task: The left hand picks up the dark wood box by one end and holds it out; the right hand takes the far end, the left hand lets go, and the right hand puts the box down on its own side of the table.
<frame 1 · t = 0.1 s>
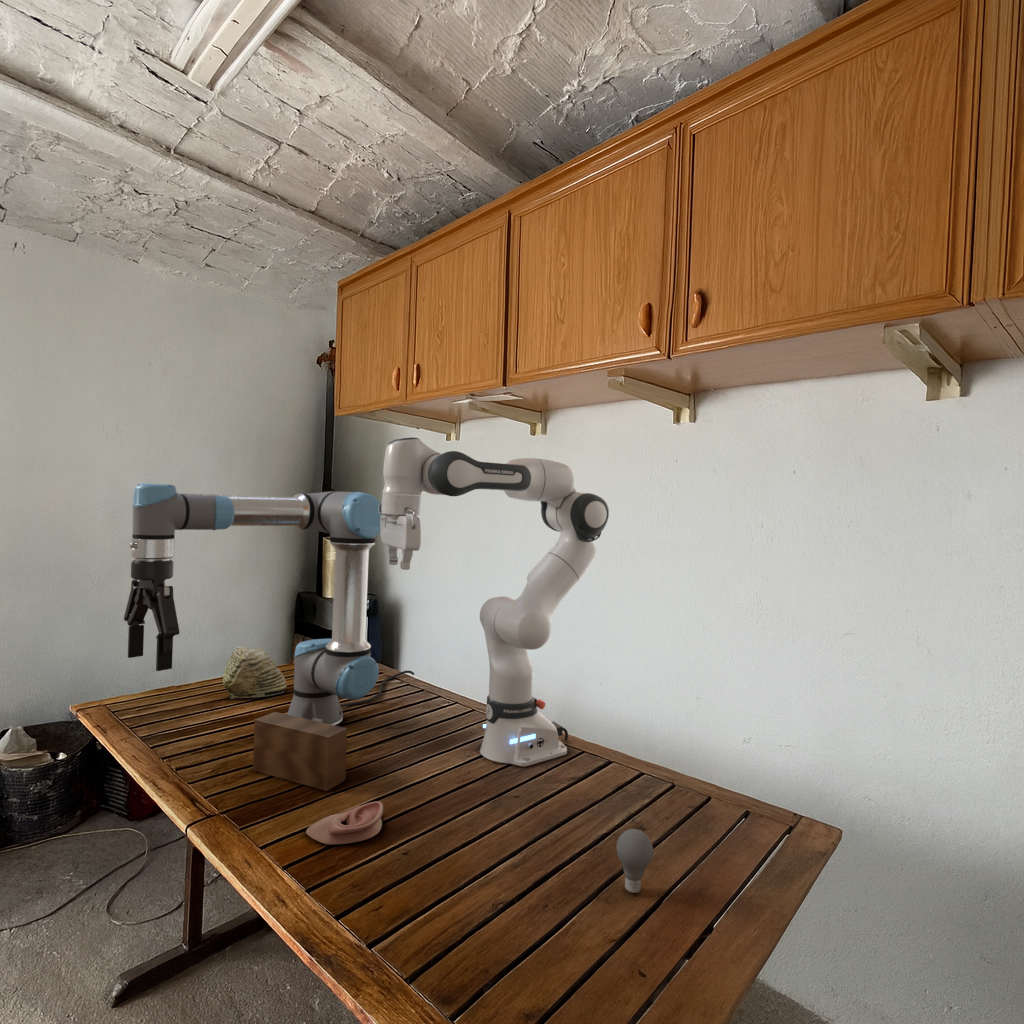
left hand: (149, 663, 129), 28 cm above the table, tool pointing down, fingers open, 13 cm apart
right hand: (398, 567, 147), 48 cm above the table, tool pointing down, fingers open, 8 cm apart
light bulb: (632, 891, 106), on the table
fossil: (254, 694, 198), on the table
box: (298, 775, 143), on the table
anatomical model: (344, 830, 121), on the table
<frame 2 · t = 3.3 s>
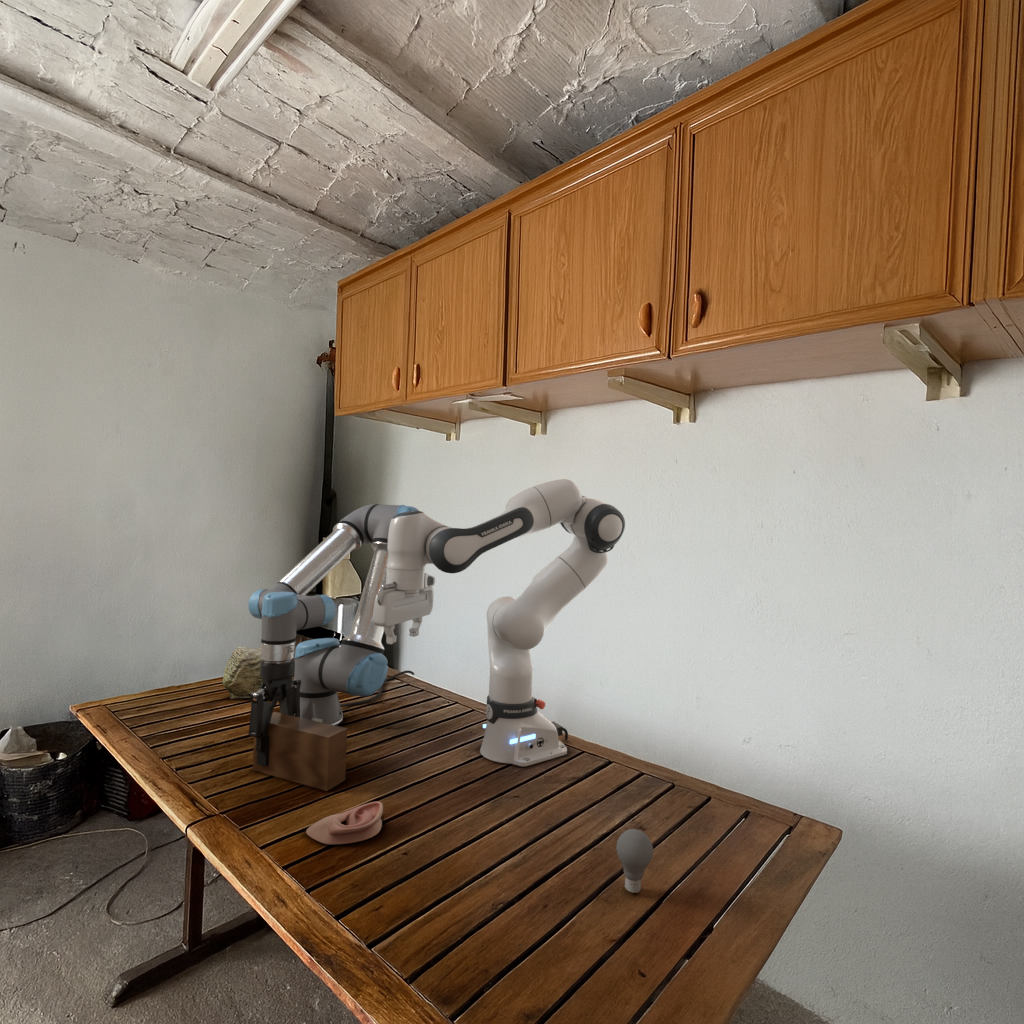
left hand: (274, 758, 146), 2 cm above the table, tool pointing down, fingers closed on box, 6 cm apart
right hand: (402, 639, 148), 31 cm above the table, tool pointing down, fingers open, 8 cm apart
box: (298, 775, 143), on the table, touching left hand
everything else where it was.
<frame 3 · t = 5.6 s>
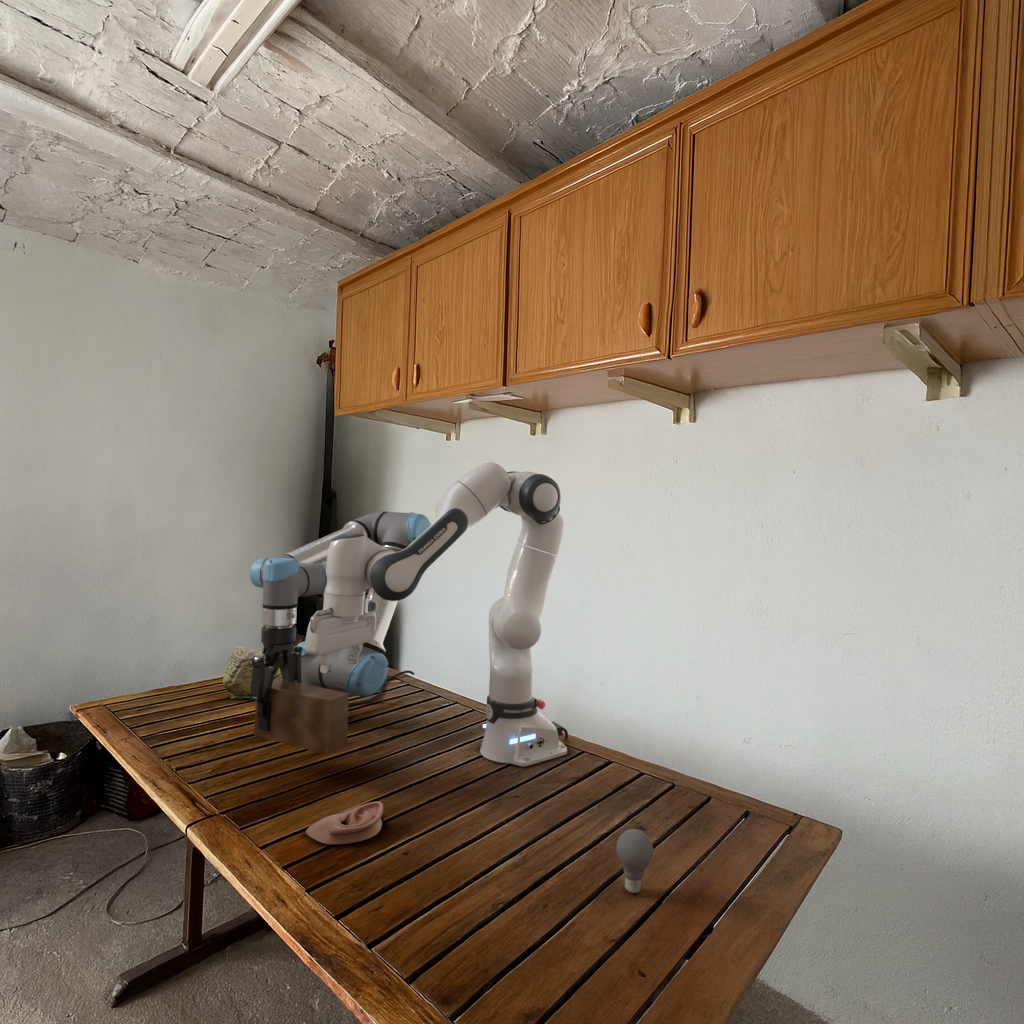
left hand: (275, 724, 146), 10 cm above the table, tool pointing down, fingers closed on box, 6 cm apart
right hand: (339, 667, 141), 25 cm above the table, tool pointing down, fingers open, 8 cm apart
box: (300, 740, 143), point 8 cm above the table, touching left hand
everything else where it was.
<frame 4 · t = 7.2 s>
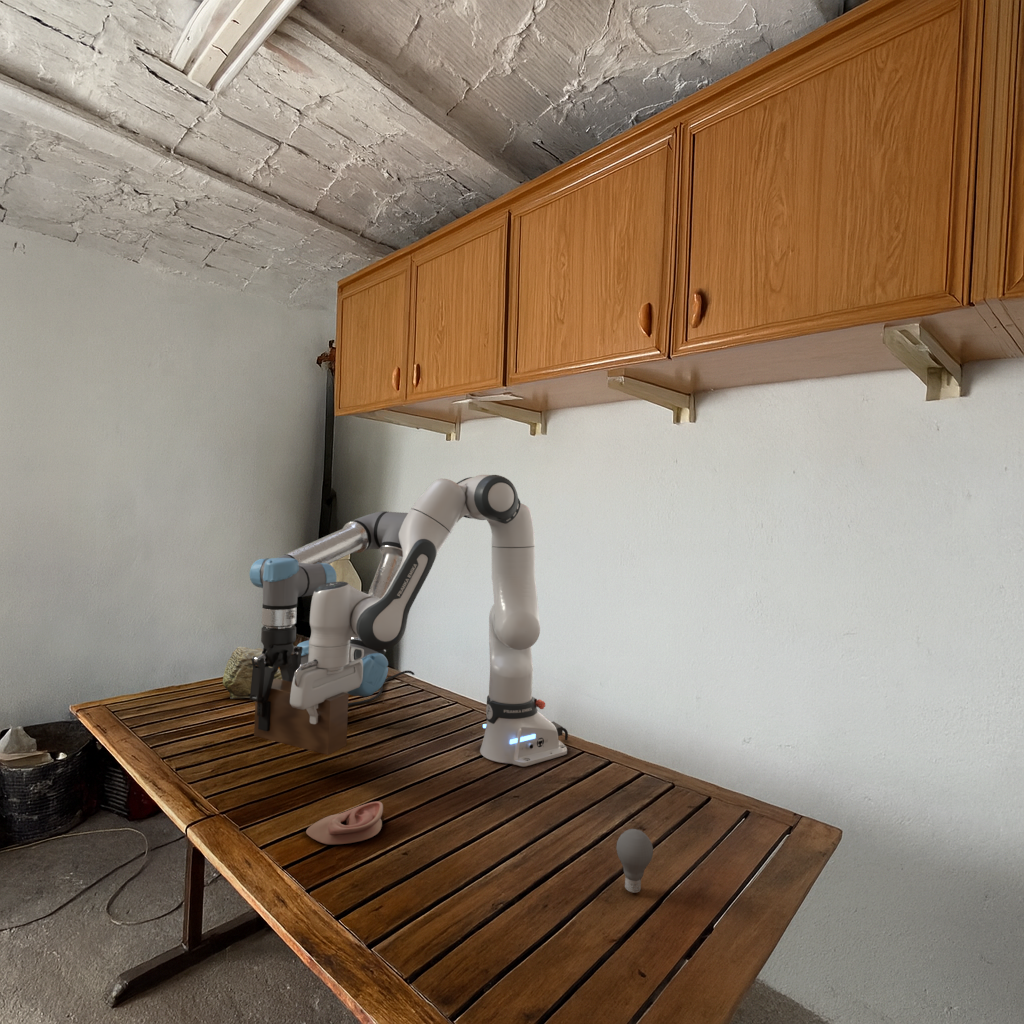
left hand: (275, 724, 146), 10 cm above the table, tool pointing down, fingers closed on box, 6 cm apart
right hand: (326, 717, 140), 14 cm above the table, tool pointing down, fingers closed on box, 6 cm apart
box: (299, 740, 143), point 8 cm above the table, touching left hand, right hand
everything else where it was.
when the left hand's fingers open (10 cm above the table, at t = 8.3 s): box stays where it is, held by the right hand.
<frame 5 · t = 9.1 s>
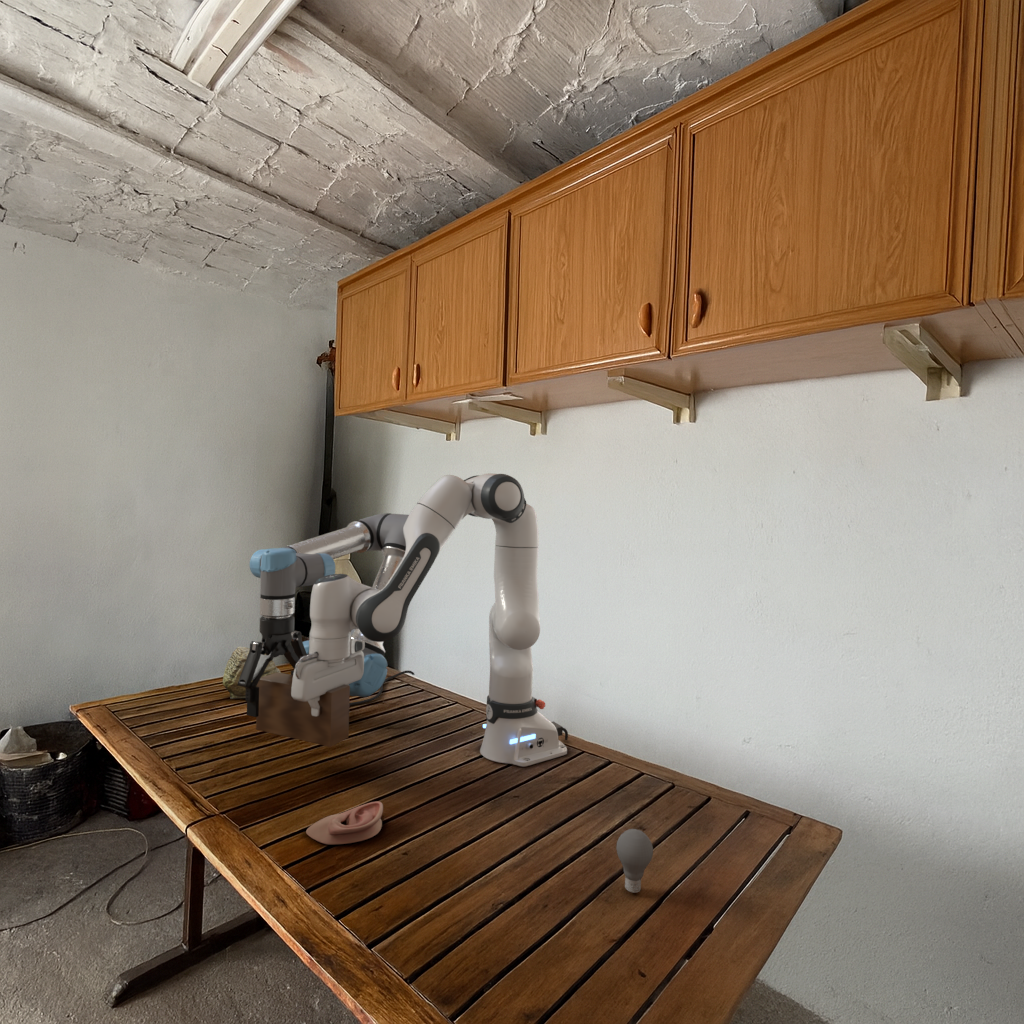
left hand: (275, 706, 147), 14 cm above the table, tool pointing down, fingers open, 13 cm apart
right hand: (328, 709, 140), 16 cm above the table, tool pointing down, fingers closed on box, 6 cm apart
box: (301, 733, 143), point 10 cm above the table, touching right hand
everything else where it was.
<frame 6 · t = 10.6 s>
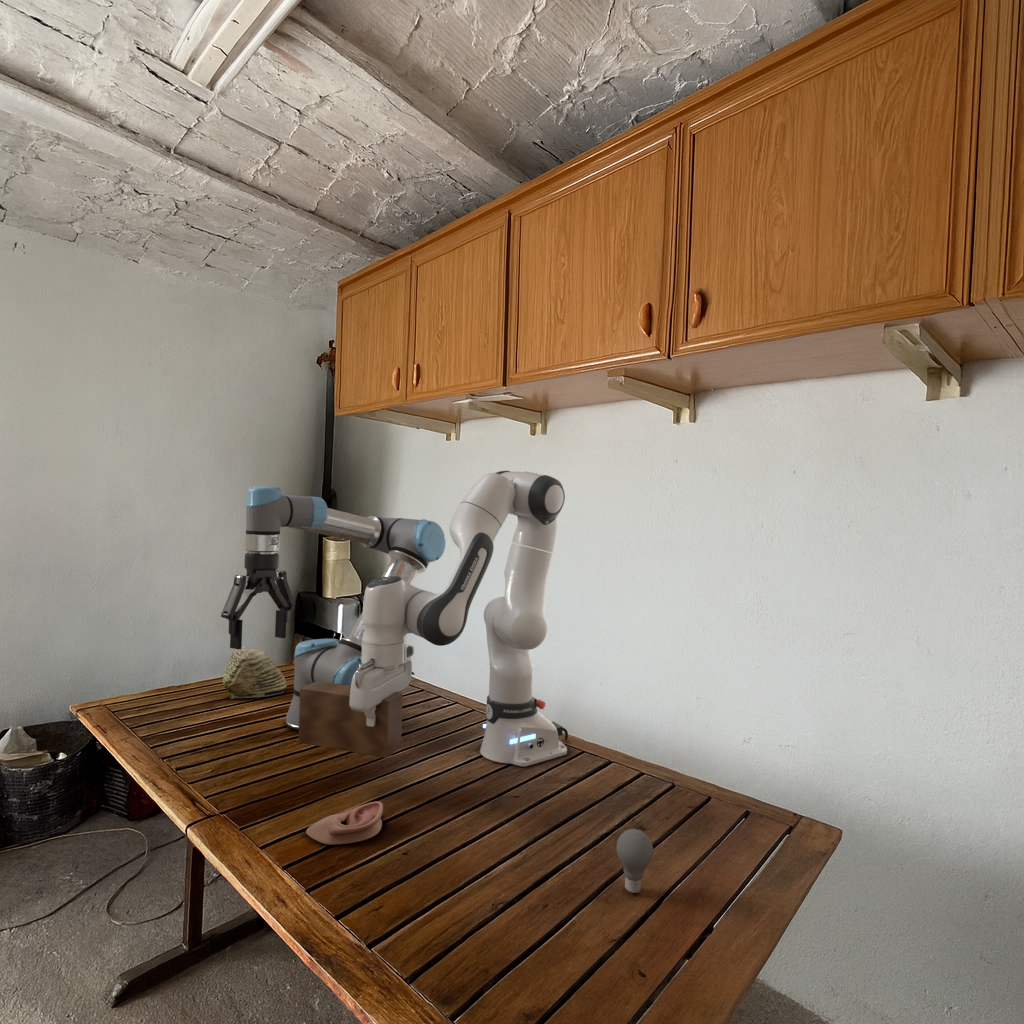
left hand: (258, 642, 148), 28 cm above the table, tool pointing down, fingers open, 13 cm apart
right hand: (381, 719, 134), 17 cm above the table, tool pointing down, fingers closed on box, 6 cm apart
box: (349, 744, 136), point 10 cm above the table, touching right hand
everything else where it was.
when the right hand's fingers open (8 cm above the table, at t = 14.3 s): box stays where it is, resting on anatomical model.
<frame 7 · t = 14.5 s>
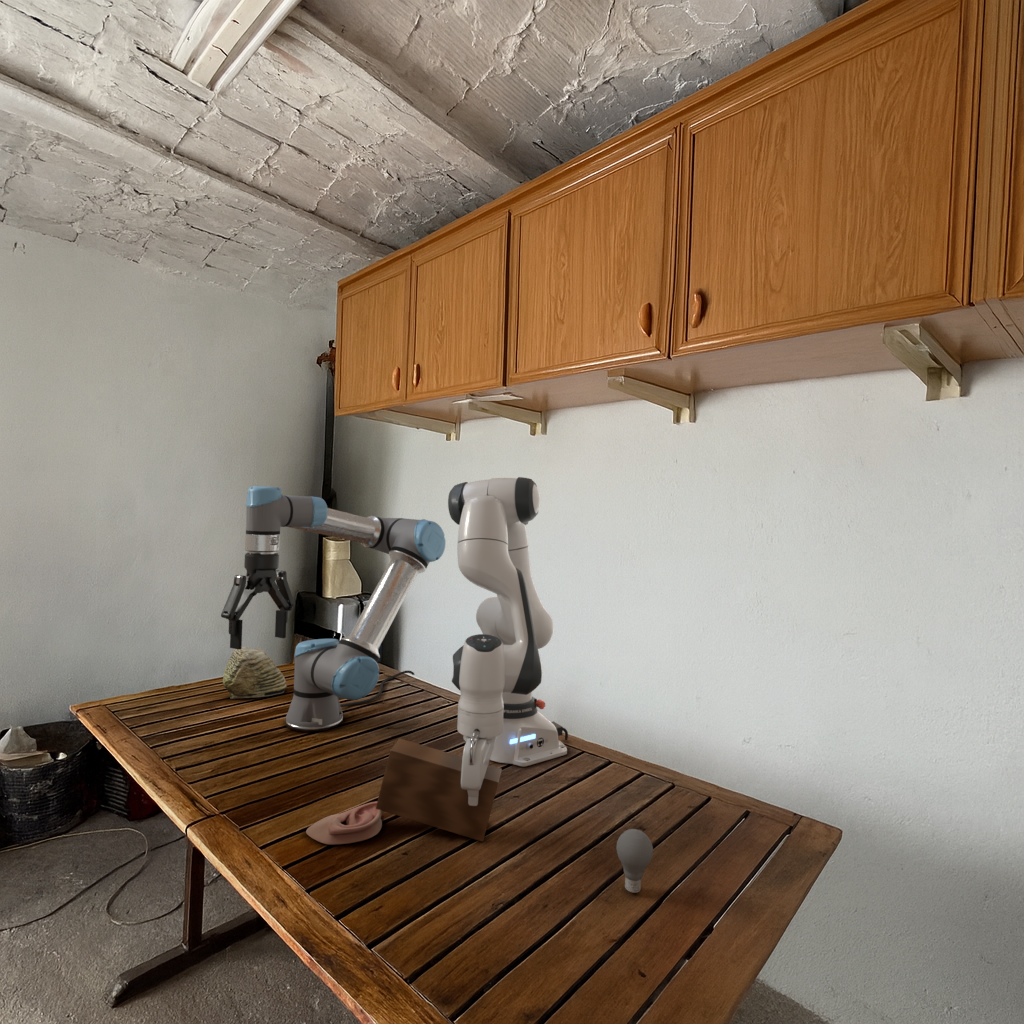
left hand: (258, 642, 148), 28 cm above the table, tool pointing down, fingers open, 13 cm apart
right hand: (477, 792, 122), 8 cm above the table, tool pointing down, fingers open, 8 cm apart
box: (432, 817, 123), point 2 cm above the table, tilted 12°, touching anatomical model
anatomical model: (344, 830, 121), on the table, touching box
everything else where it was.
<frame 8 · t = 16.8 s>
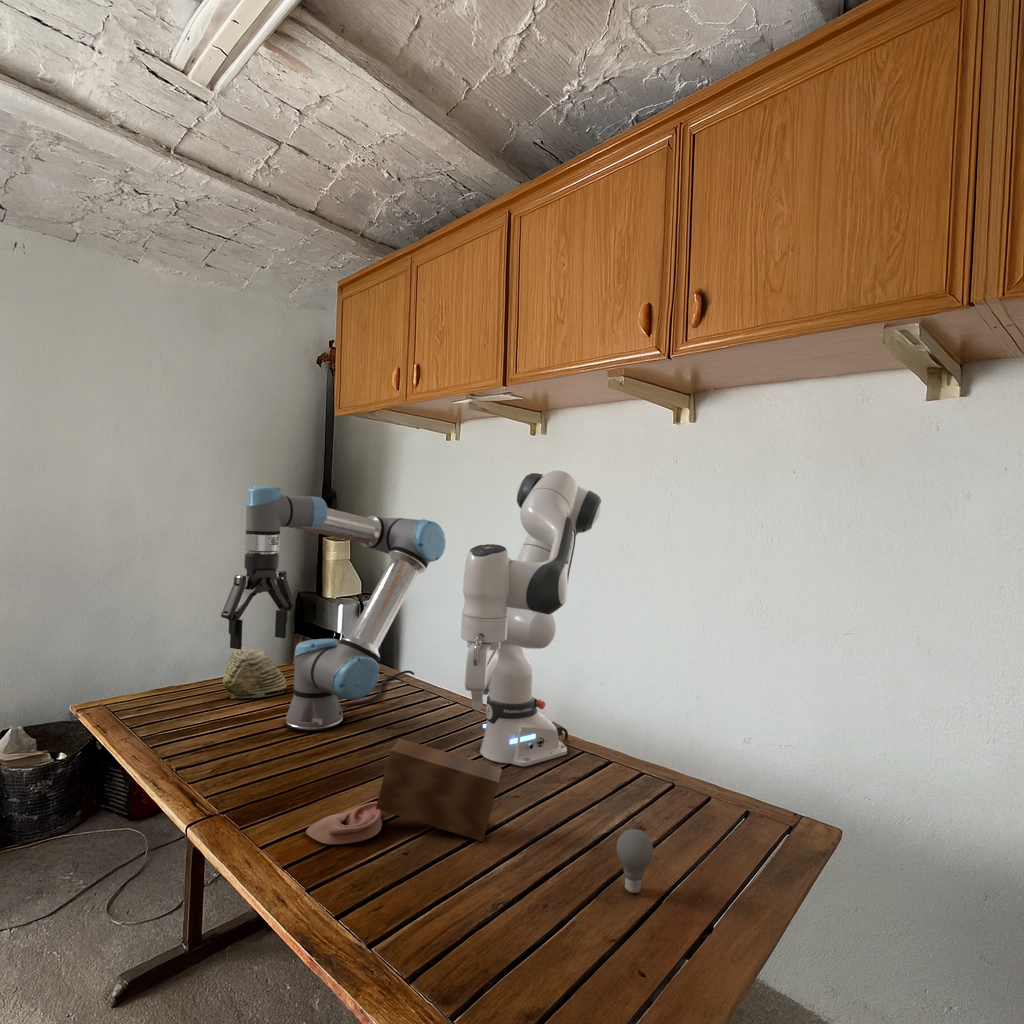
left hand: (258, 642, 148), 28 cm above the table, tool pointing down, fingers open, 13 cm apart
right hand: (481, 701, 122), 26 cm above the table, tool pointing down, fingers open, 8 cm apart
nothing on the table moved.
at the end: box inside the target area (8.6 cm from its centre), point 2.2 cm above the table; the left hand is holding nothing; the right hand is holding nothing; box at rest at the end (0.0 cm/s) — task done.
